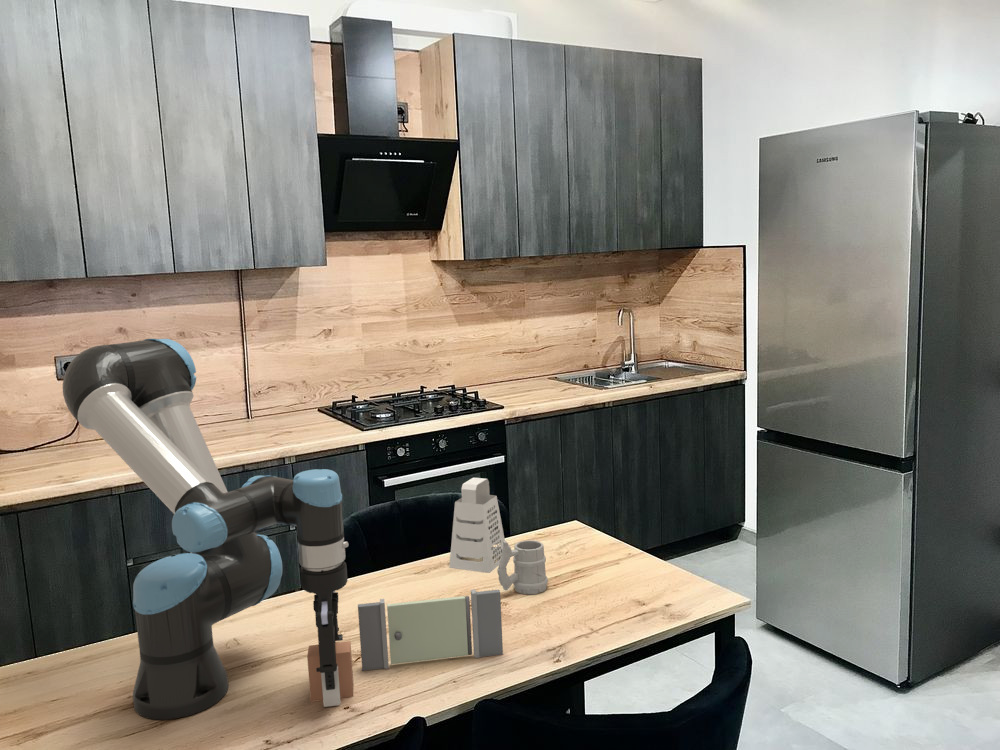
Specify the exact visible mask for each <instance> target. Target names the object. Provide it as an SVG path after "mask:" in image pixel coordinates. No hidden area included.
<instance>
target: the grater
mask: <svg viewBox="0 0 1000 750" xmlns="http://www.w3.org/2000/svg"><path fill="white" fill-rule="evenodd" d="M460 490H461V497H460V498H459V499H458V500H456V501H455V502H454V511H453V518H452V519H453V521H452V530H451V531H452V532H451V543H450V544H451V546H450V557H449V566H448V567H449V568H450V569H454V570H455V569H456V570H463V571H464V570H465V571H471V572H472V571H473V572H478V573H488V574H490V573H492V572H493V571H494V570H495V569H497V568H498V567H499V563H500V559H501V555H502V551H503V541H505V535H504V528H503V524H502V523H503V522H502V518H501V513H500V507H499V502H498V497H497V495H493V494H490V481H489V479H488V478H481V477H472V478H470V479H469V480H467V481H465V482H464V483H462V485H461V489H460ZM462 558H467V560H466V559H462ZM468 559H477V560H480V559H482V560H481V561H475V560H468Z"/></svg>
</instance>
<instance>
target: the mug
mask: <svg viewBox="0 0 1000 750" xmlns="http://www.w3.org/2000/svg"><path fill="white" fill-rule="evenodd" d="M513 547H514V549H512V548H511V545H510V544H509V542H507V541H503V551H502V555H501V559H500V558H499V560H500V563H499V565H498V566H497V568H496V569H497V570H496V572H497V575H498V582H499V584H500V586H501V587H502V589H503V591H508V590H509V589H510V588H511V586H512V585H513V586H514V590H515V591H516V592H517V593H518V594H522V595H530V596H531V595H537V594H540V593H543V592H545V591H546V590H547V585H548V583H549V579H548V577H547V573H546V560H547V557H546V556H545V547H544V543H542V542H540V541H538V540H535V539H534V540H533V539H531V540H530V539H528V540H527V539H526V540H521V541H519V542H516V543H515V544H514V546H513ZM512 557H513V558H512ZM511 558H512V559H513V560H512V561H513V565H514V566H513V567H514V572H513V573H512V574H511V575H509V574H508V572H507V566H508V563H509V562H510V560H511Z"/></svg>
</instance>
